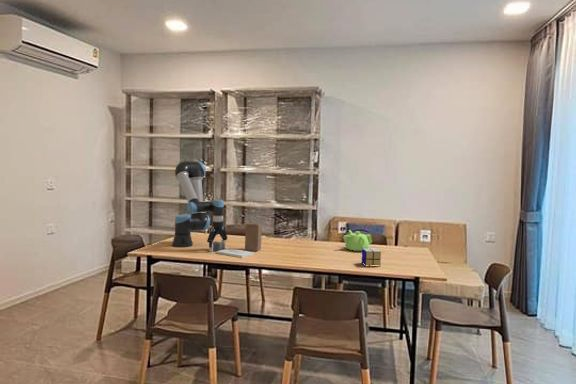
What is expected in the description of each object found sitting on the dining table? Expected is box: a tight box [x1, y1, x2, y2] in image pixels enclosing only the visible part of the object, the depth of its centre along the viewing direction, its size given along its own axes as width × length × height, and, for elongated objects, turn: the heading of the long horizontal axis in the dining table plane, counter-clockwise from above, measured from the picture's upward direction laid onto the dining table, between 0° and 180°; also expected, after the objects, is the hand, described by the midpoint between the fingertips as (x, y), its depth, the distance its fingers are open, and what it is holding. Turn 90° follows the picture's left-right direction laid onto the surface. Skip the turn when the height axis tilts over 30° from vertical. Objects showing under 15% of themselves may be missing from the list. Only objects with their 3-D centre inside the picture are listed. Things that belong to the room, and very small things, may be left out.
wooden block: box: [244, 221, 263, 253], centre depth 319 cm, size 10×10×20 cm
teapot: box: [342, 229, 373, 252], centre depth 335 cm, size 19×20×14 cm
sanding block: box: [212, 241, 224, 252], centre depth 314 cm, size 8×5×6 cm, turn 60°
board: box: [216, 247, 255, 258], centre depth 305 cm, size 22×14×2 cm, turn 60°
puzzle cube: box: [361, 248, 382, 266], centre depth 286 cm, size 10×10×10 cm
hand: (217, 250), depth 314 cm, fingers open, 13 cm apart
